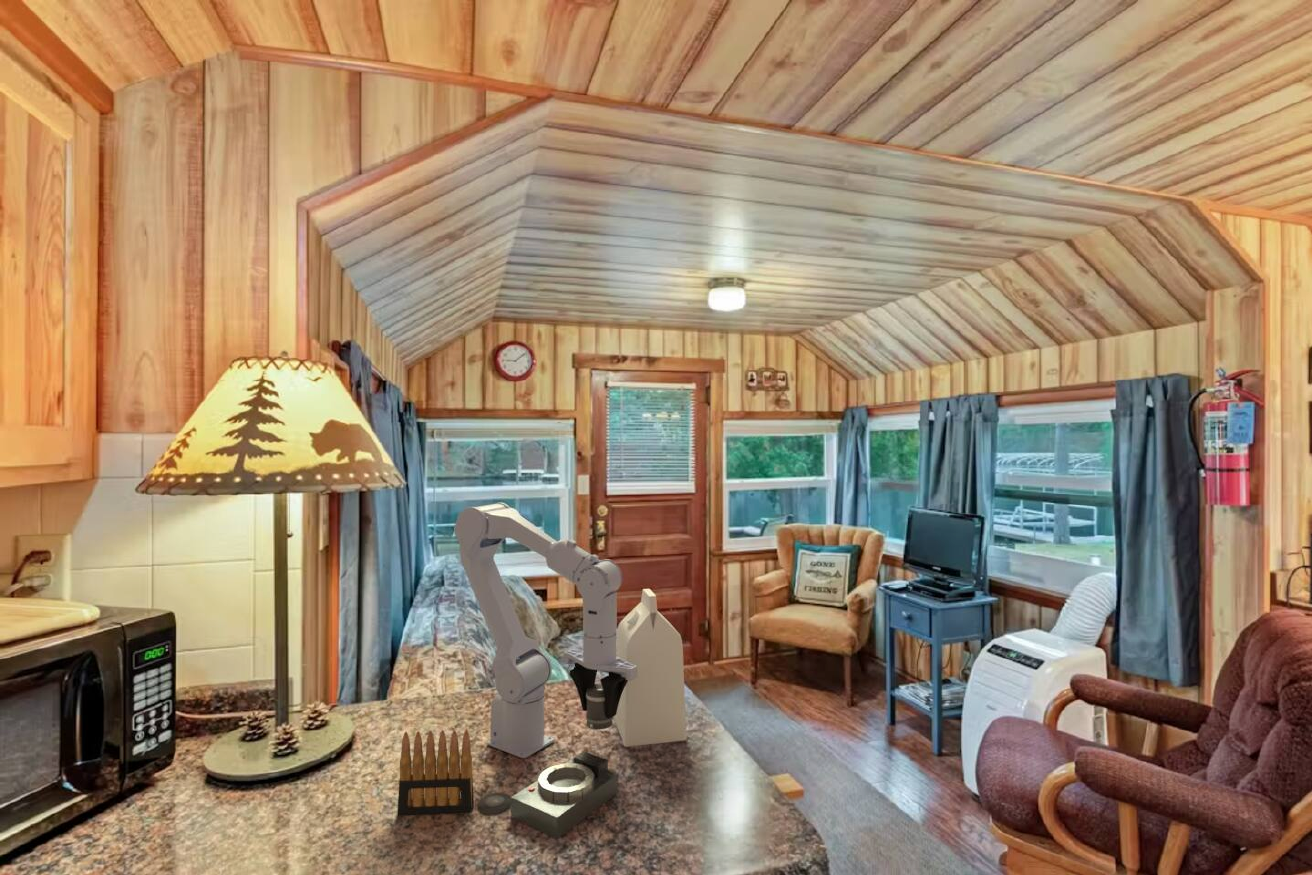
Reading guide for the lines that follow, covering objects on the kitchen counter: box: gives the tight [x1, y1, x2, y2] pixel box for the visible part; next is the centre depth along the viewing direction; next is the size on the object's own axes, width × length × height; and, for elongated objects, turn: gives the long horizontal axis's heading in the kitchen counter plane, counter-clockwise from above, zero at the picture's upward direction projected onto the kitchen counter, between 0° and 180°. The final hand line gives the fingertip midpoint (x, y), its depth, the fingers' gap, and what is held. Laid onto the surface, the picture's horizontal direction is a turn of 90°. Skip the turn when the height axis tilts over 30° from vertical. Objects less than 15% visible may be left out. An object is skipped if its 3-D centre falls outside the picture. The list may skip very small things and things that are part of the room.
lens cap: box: [477, 792, 512, 815], centre depth 99 cm, size 5×5×1 cm
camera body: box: [510, 750, 619, 840], centre depth 99 cm, size 9×14×5 cm, turn 146°
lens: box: [585, 683, 614, 730], centre depth 112 cm, size 5×5×6 cm
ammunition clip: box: [397, 729, 475, 817], centre depth 97 cm, size 11×2×12 cm, turn 95°
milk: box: [613, 588, 688, 748], centre depth 124 cm, size 12×12×26 cm
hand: (599, 712), depth 112 cm, fingers closed on lens, 4 cm apart
